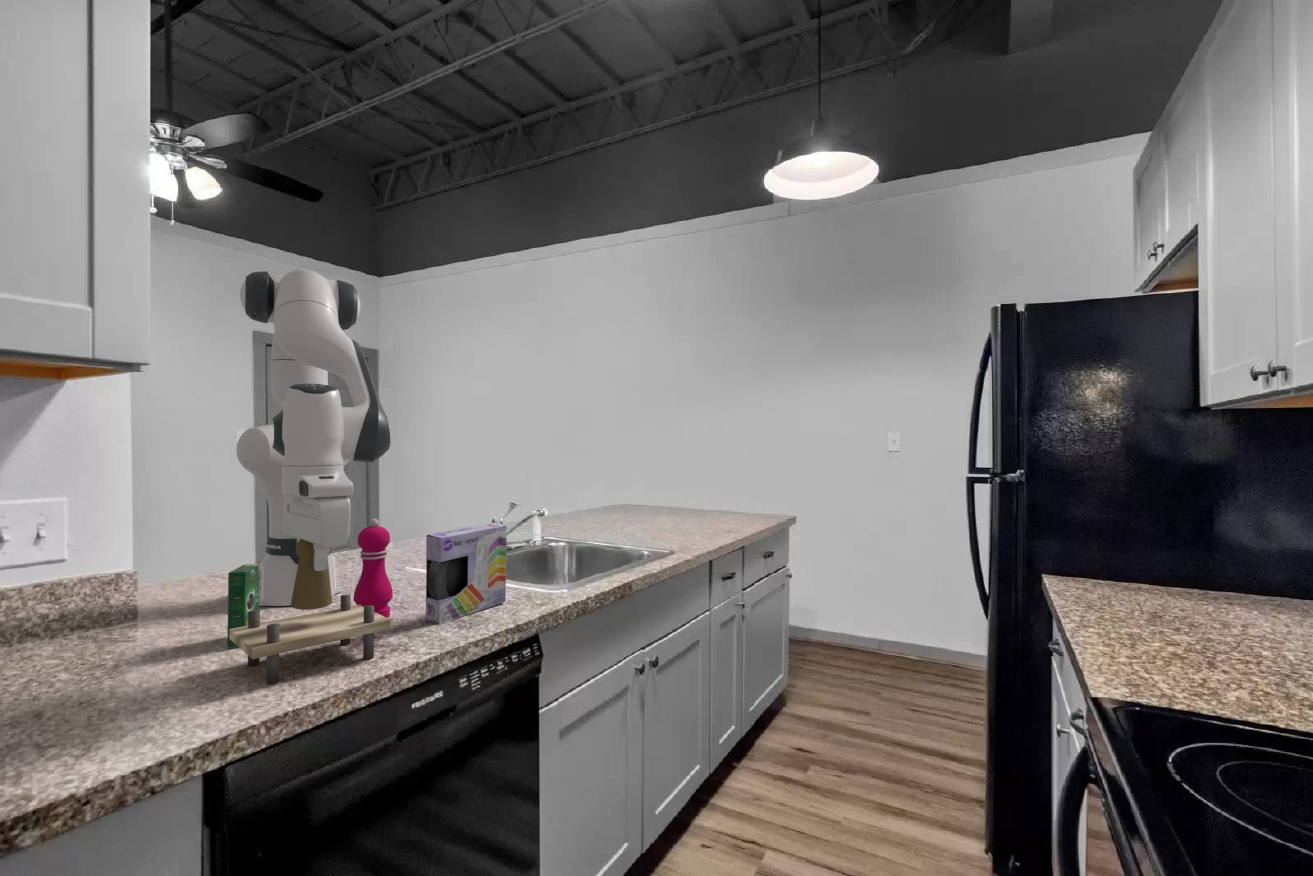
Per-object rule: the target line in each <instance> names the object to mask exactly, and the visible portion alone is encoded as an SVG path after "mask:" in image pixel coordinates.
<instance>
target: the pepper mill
mask: <svg viewBox="0 0 1313 876" xmlns="http://www.w3.org/2000/svg"><path fill="white" fill-rule="evenodd" d="M379 524H380V522H379V519H377V518H371V519H370V520H369V526H367V527H364V528H363V529H362V530H360V532H359V534H358V535H357V544H358V546H359V548H360V549H361V550H360V556H359V557H360V558H359V559H361V560H362V561H361V562H362V568H361V574H360V577H359V579H358V582H357V584H356V586H355V589H354V593H353V601H354V603H355V604H356V605H361V606H363V607H365V606H370V605H372V606H374V612H375V613H378V614H380V615H382V616H384V617H386V618H388V619H389V617H390V616H391V606H390V605H389V603H390V602H391V601H392V599H393V595H394V593H393V591H394V590H393V587H392V584H391V582H390V580H389V577H388V574H387V571H386V563H385V561H386V558H387V557H388V554H387V552H388V550H387V549H386V548H387V547H388V546H389V544H390V542H391V535H390V532H389V531H388V530H387V529H386V528H385V527H383V526H379Z"/></svg>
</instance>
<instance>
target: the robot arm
mask: <svg viewBox="0 0 1313 876" xmlns="http://www.w3.org/2000/svg"><path fill="white" fill-rule="evenodd" d="M239 299H240V303H241V306H242V308H243V310H244V312H245V315H246V316H247V317H249V319H250V320H253V321H255V322H258V323H263V324H268V323H270V324H273V330H274V331H273V336H272V344H271V355H270V356H271V357H270V394H271V397H272V398H273V400H274V401H275V402H276V403H278V404H279V405H281V406H282V407H283V409H282V410H281V411H280V412H278V413H277V414H276V415H274V416H273V417H272V418H271V419H272V423H269V424H263V425H259V426H258V425H257V426H255V427H254V426H253V427H250V428H248V429H246V430H244V431H243V433H241V435H240V436H239V438H238V441H237V443H236V448H235V449H236V456H237V457H236V458H237V459H238V461H239V463H240V465H241V466H242V467H243V468H244V470H245V471H247V472H249V473H250V474H252V475H253V476H254V477H255V478H256V480H258V482H259V483H260V485H261V487H262V489H263V491H264V494H265V496H266V497H265V498H266V500H267V507H268V525H269V529H268V531H269V532H268V533H269V536H268V537H267V538H266V543H265V553H266V554H265V556H264V558H263V559H262V561H261V562H260V563H259V607H261V606H262V607H263V606H271V607H284V606H285V607H287V606H291V600H292V595H293V589H294V584H295V579H296V574H297V568H298V563H299V557H298V556H297V554H296V545H297V543H298V541H299V540H300V539H302V540H305V541H308V542H311V543H313V549H314V550H315V552H314V559H312V569H314V570H316V571H322V570H326V569H327V558H328V566H329V575H330V585H331V595H332V597H333V596H335V594H339V593H340V592H343V586H341V585H338V584H337V581H336V580H337V578H336V576H337V575H336V560H335V557H334V556H333V555H332V554H330V555H329V552H330V549H331V546H332V547H338V546H344V545H346V544H347V542H348V540H349V536H350V529H351V528H350V527H351V510H352V509H351V499H350V498H349V497H351V496H353V495H354V487H355V486H354V482H353V481H351V480H350V479H349V477H348V476H347V475H346V472H345V470H344V469H345V466H346V465H347V464H348V463H349V462H350V461H353V462H362V463H363V462H364V463H373V462H375V461H377V460H378V459H380V458H381V457H382V456H384V455H385V454H386V453H387V452H388V451H389V449H390V447H391V443H392V442H391V441H392V429H391V426H390V423H389V420H388V417H387V415H386V412H385V410H384V409H383V406H382V404H381V402H380V398H379V395H378V393H377V389H376V387H375V383H374V381H373V377H372V375H371V371H370V368H369V365H368V362H367V359H366V357H365V355H364V352H363V350H362V348H361V346H360V344H359V343H358V342H357V341H356V340H354V339H353V338H350V337H349V336H348V334H346V333H345V331H346V330H349V329H350V328H352V327H353V326H354V325H355V324H356V323H357V320H358V318H359V316H360V313H361V306H362V304H361V300H360V296H359V294H358V290H357V289H356V287H355V286H354V285H353V284H351V283H349V282H347V281H343V280H340V279H337V280H334V279H330V278H325V277H324V276H323V275H321V274H320V273H318V272H315V271H313V270H310V269H295V270H291V271H289V272H288V273H284V272H283V273H282V272H279V273H277V272H271V273H270V272H269V271H267V270H266V271H262V270H261V271H253V272H250V273H249V274H248V275H246V276H245V279H244V281H243V282H242V284H241V287H240V290H239ZM329 373H331V374H334V375H336V376H337V377H339V378H340V379H341V380H343V381H344V382H345V383H346V385H347V387H348V388H347V389H348V391H349V395H350V398H351V401H352V404H353V406H351V407H350V406H342V399H341V393H340V390H339V388H336V387H335V386H332V385H329V378H328V377H329V375H328V374H329ZM328 555H329V556H328Z"/></svg>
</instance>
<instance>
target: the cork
mask: <svg viewBox="0 0 1313 876" xmlns="http://www.w3.org/2000/svg"><path fill="white" fill-rule="evenodd" d="M332 548H333V546H331V549H330V552H329V555H331V554H332V550H333V549H332ZM314 552H315V550H314V549H313V543H311V542H308V541H305V540H302V539H300V540H299V541H298V543H297V545H296V554H297V556H298V557H299V563H298V568H297V574H296V579H295V584H294V589H293V595H292V600H291V605H290V607H291V608H293V609H296V610H302V611H304V610H305V611H306V610H307V611H309V610H319V609H322V608H326V607H328V606H330V605H331V604H332V603H333V596H332V595H331V585H330V575H329V566H328V558H327V569H326V570H322V571H316V570H314V569H312V559H314ZM329 555H328V556H329Z"/></svg>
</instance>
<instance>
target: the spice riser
mask: <svg viewBox="0 0 1313 876" xmlns="http://www.w3.org/2000/svg"><path fill="white" fill-rule="evenodd" d="M351 596H352V595H351V594H346V593H345V594H342V595H340V608H335V609H331V610H324V611H319V612H315V613H309V614H304V615H303V614H302V615H299V616H293V617H292V616H291V617H287V618H286V617H285V618H282V619H276V620H271V621H266V622H265V621H264V622H261V610H252V611H249V612H248V626H243V627H238V628H232V629H229V639H230V640H231V641H233V642H234V643H235V644H236V645H237V646H238V647H237V648H239V649H240V650H241V651H243V652H244V653H245V654H246V656H247V666H248V667H255V665H256V666H258V665H260V663H261V662H260V659H261V658H265V657H266V669H265V670H266V673H265V674H266V675H265V676H266V678H265V679H266V684H267V685H272V684H273V683H274V684H277V683H279V682H280V654H282V653H289V652H293V651H296V650H302V649H306V648H310V647H315V646H320V645H324V644H327V643H328V644H329V643H334V642H337V641H339V645H340V646H347V645H350V644H351V638H356V637H360V636H363V639H362V640H363V641H362V643H363V645H362V647H363V649H362V650H363V652H362V656H363V657H362V659H363V660H367V661H368V660H372V659H374V657H375V633H378V632H383V631H388V630H391V627H392V623H391V621H392V620H391V619H390V618H389V617H388V618H386V617H384V616H382V615H380V614H378V613H375V612H374V606H372V605H370V606H365V607H363V606H361V605H357V604H356V605H353V606H352V605H351V604H352V603H351V602H352V600H351V598H352V597H351ZM276 682H277V683H276Z"/></svg>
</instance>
